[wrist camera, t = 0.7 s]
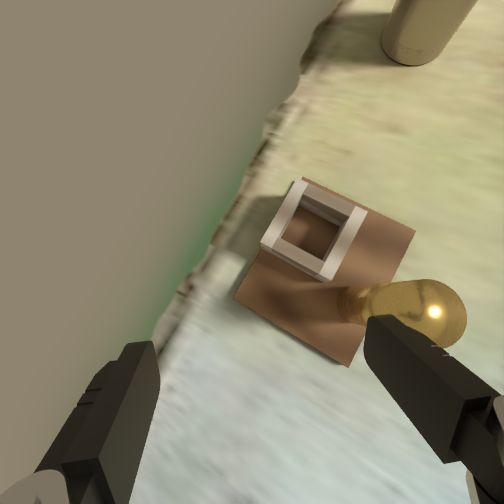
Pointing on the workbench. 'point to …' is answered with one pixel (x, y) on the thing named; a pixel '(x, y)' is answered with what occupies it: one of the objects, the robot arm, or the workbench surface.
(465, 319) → the golden metal peg
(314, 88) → the workbench surface
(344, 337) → the socket block
